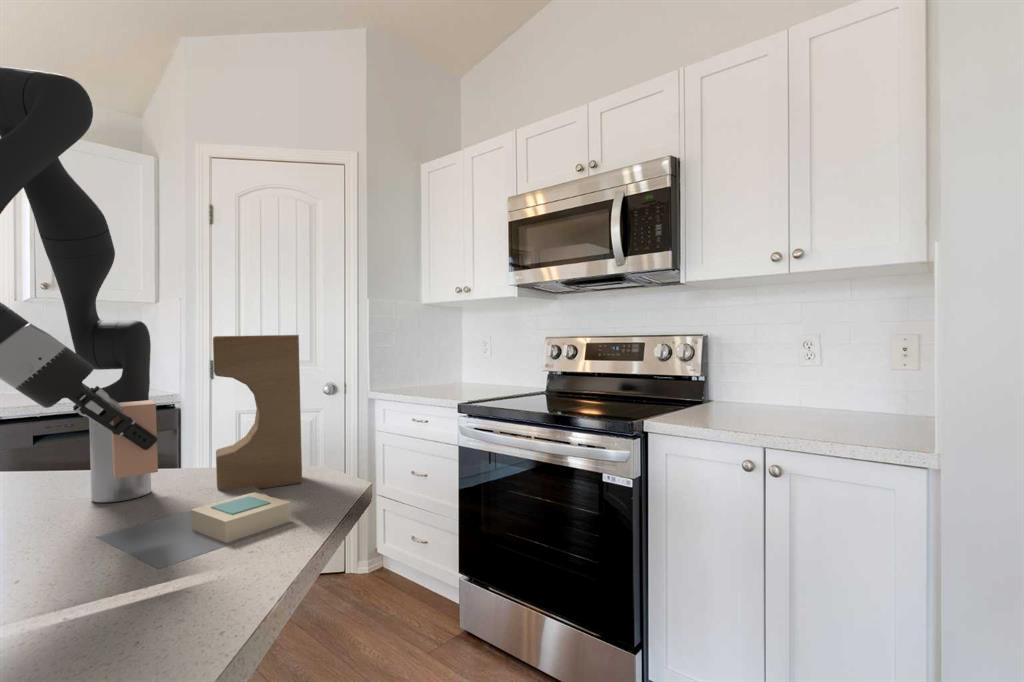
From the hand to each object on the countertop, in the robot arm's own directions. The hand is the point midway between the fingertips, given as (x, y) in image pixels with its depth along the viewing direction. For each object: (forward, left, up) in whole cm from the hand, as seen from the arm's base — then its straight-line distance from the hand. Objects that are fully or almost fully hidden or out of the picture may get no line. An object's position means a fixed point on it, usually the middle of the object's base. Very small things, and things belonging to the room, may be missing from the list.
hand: (149, 441), depth 79 cm
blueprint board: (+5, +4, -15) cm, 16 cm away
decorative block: (-13, +25, -15) cm, 32 cm away
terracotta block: (0, -2, -4) cm, 5 cm away
